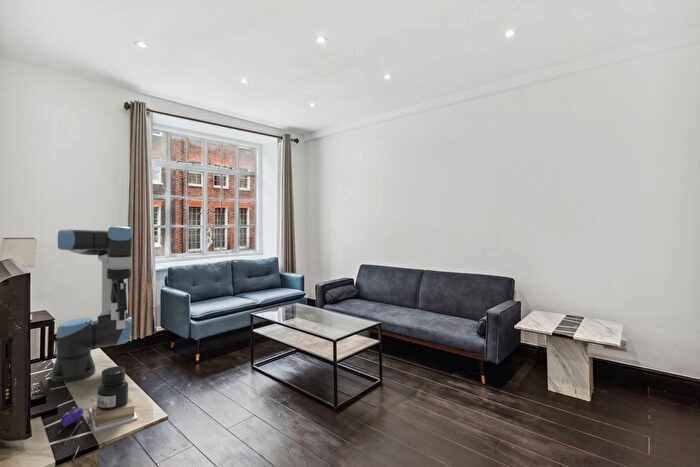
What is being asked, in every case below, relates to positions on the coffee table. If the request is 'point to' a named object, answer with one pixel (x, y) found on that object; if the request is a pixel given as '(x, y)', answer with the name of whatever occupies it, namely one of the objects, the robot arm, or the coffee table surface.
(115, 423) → the grey thin flat slab
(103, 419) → the oak plinth
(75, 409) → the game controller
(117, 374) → the ink bottle
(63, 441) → the coffee table surface
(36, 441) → the coffee table surface
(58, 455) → the coffee table surface
